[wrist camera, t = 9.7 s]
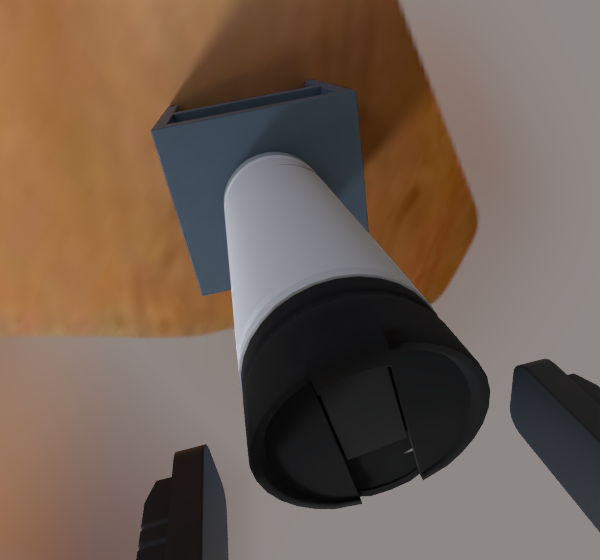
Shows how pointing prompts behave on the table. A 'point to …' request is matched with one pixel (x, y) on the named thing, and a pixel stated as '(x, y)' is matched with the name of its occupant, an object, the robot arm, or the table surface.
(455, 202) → the table surface
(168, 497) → the robot arm
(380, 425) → the travel mug
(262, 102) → the shelf
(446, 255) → the table surface
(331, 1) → the table surface
